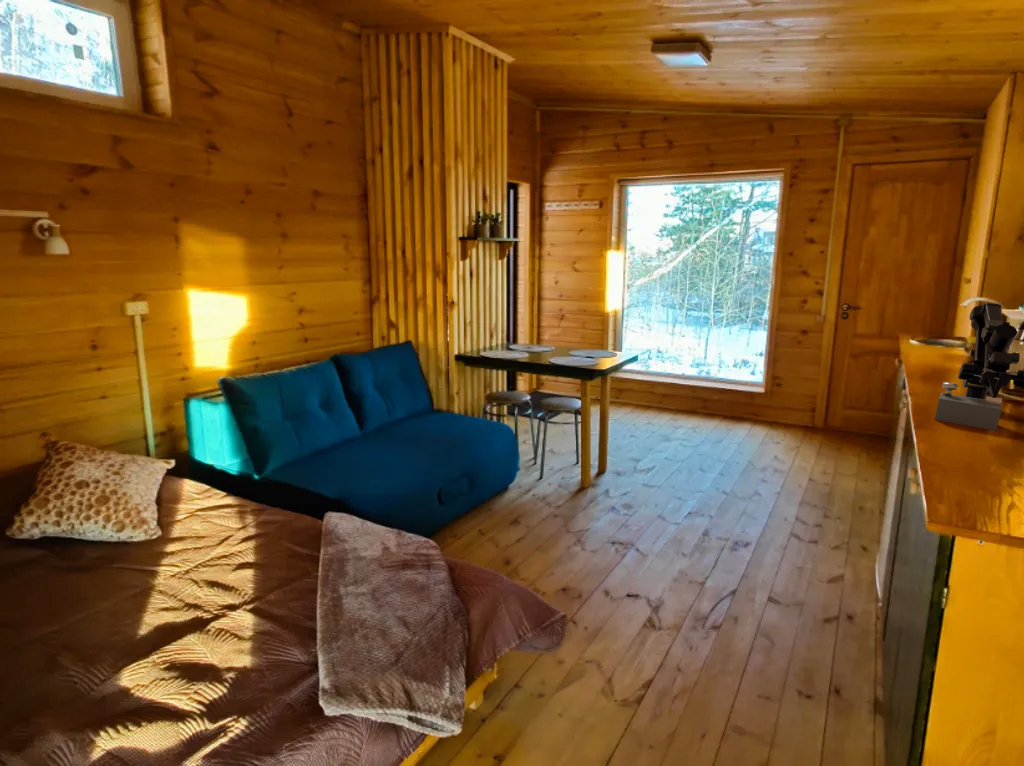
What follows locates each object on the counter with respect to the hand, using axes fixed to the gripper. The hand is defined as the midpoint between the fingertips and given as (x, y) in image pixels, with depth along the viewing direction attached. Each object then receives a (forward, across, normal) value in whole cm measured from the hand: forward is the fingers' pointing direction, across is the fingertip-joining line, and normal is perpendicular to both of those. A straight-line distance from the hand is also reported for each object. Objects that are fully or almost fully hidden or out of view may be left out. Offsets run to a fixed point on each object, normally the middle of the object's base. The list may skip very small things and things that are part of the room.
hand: (994, 397), depth 200 cm
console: (+7, -6, +5) cm, 11 cm away
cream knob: (+3, 0, +3) cm, 4 cm away
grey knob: (0, -12, +3) cm, 12 cm away
